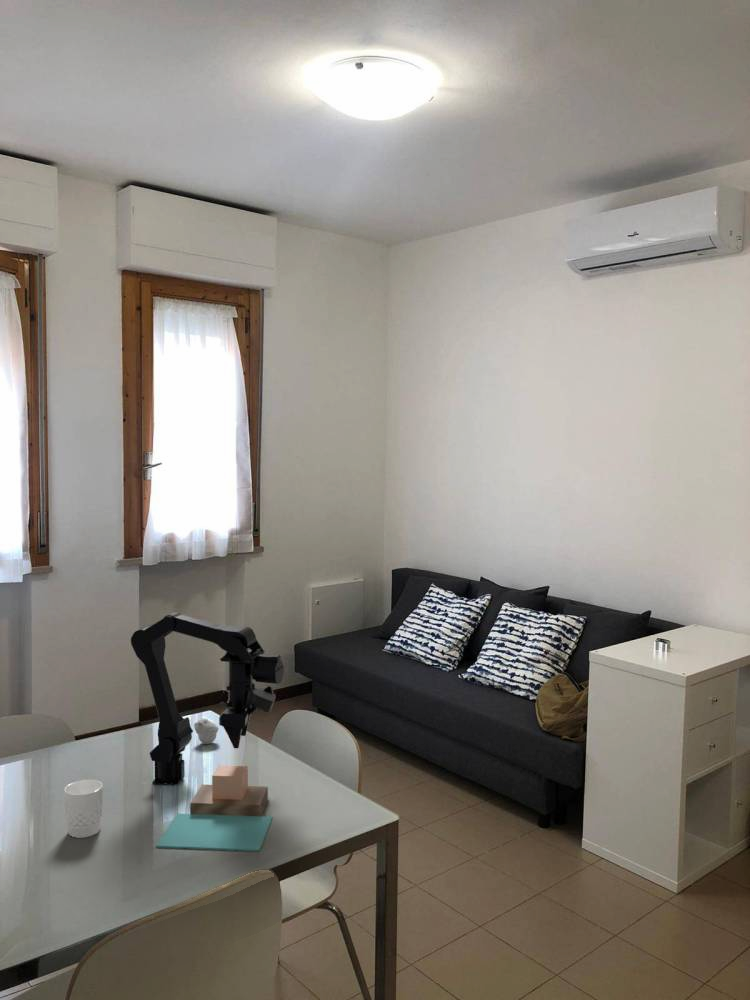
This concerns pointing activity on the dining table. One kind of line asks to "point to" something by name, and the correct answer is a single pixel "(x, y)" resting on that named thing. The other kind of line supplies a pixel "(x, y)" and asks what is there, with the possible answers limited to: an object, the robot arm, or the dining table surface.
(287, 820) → the dining table surface
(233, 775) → the terracotta block
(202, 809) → the walnut deck
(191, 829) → the teal mat
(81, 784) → the white cup
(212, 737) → the grey rounded piece
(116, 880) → the dining table surface
